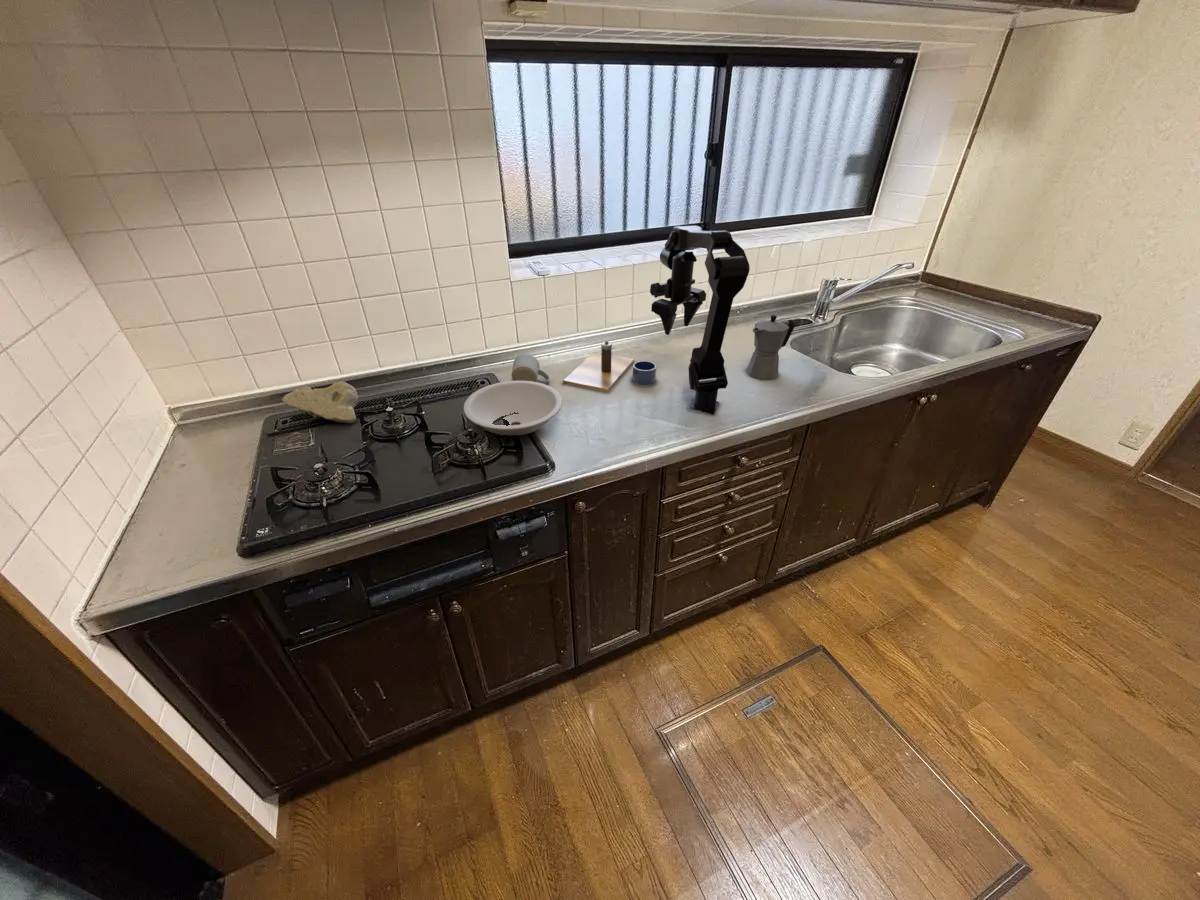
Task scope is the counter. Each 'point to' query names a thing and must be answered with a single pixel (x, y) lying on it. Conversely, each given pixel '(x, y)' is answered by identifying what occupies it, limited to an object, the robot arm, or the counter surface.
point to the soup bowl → (513, 406)
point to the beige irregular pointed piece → (326, 401)
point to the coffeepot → (768, 347)
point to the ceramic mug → (528, 369)
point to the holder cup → (644, 372)
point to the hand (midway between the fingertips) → (676, 330)
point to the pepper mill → (606, 356)
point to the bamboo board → (598, 372)
